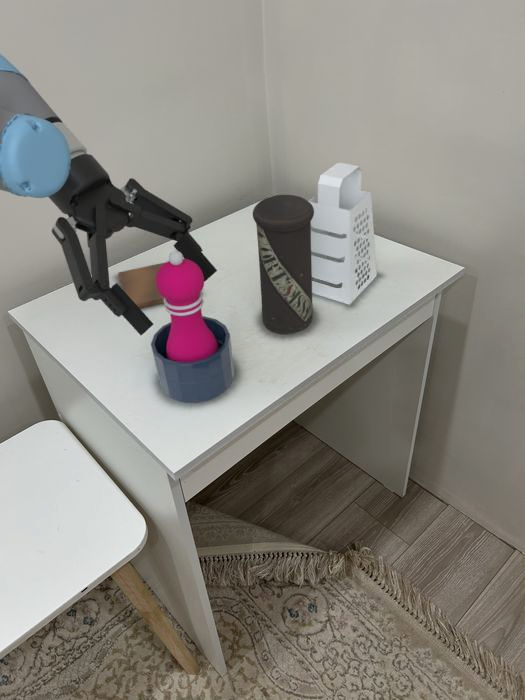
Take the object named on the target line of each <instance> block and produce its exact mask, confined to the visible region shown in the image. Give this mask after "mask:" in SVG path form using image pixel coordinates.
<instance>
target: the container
mask: <svg viewBox="0 0 525 700" xmlns="http://www.w3.org/2000/svg"><path fill="white" fill-rule="evenodd" d="M308 201H309V200H307V199H306V198H303V197H302V196H298V195H294V194H276V195H271V196H268V197H265V198H263V199H261V200H260V201H259V202H258V203H257V204H255V206H254V208H253V209H252V219H253V221H254V222H255V225H256V234H257V235H256V236H257V238H256V239H257V248H258V249H257V252H258V266H259V280H260V281H259V282H260V297H261V299H260V300H261V318H262V323H263V325H264V327H265V328H266V329H267V330H268V331H270V332H272V333H274V334H278V335H292V334H296V333H299V332H301V331H303V330H305V329H306V328H308V327H309V326H310V325H311V323H312V321H313V317H314V316H313V315H314V308H313V307H314V305H313V293H312V281H313V277H312V265H311V220H312V218H313V216H314V209H313V206H312V204H311V203H310V202H308Z"/></svg>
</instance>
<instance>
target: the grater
mask: <svg viewBox="0 0 525 700" xmlns="http://www.w3.org/2000/svg"><path fill="white" fill-rule="evenodd" d="M362 174H363V171H362V168H361V166H360V165H356V164H355V165H353V164H349V163H344V162H337V163H335V164H333V166H331V167H329V168H328V169H327V170H325V171H324V172H323V173H321V174H320V176H319V179H318V182H317V194H316V195H314V196H313V197H311V198H310V199H309V200H307V201H308V202H310V203H311V204H312V206H313V209H314V216H313V218H312V220H311V265H312V279H317V280H321V281H323V282H326V283H331V284H333V285H340V284H341V287H333V286H330V285H327V284H324V283H320V282H317V281H314V280H312V295H313V294H314V295H316V296H320V297H323V298H326V299H329V300H333V301H336V302H339V303H342V304H346V305H351V304H352V303H353V302H354V301H355V300H356V298H358V296H360V295H361V293H362V292H364V290H366V288H367V287H368V286H369V285H370V284H371V283H372V281H373V280H374V279H375V278H376V277H377V275H378V273H377V259H376V258H377V257H376V256H377V255H376V243H375V231H374V229H375V228H374V214H373V213H374V212H373V202H372V201H373V200H372V199H373V198H372V192H369V191H364V190H361V189H362ZM358 274H359V276H358Z"/></svg>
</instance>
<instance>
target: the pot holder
mask: <svg viewBox="0 0 525 700" xmlns="http://www.w3.org/2000/svg"><path fill="white" fill-rule="evenodd" d="M166 262H167V261H165V262H161V263H155V264H151V265H146V266H142V267H138V268H137V267H136V268H133V269H127V270H124V271H119V272H117V275H118V278H119V282H120V285H121V286H120V287H121V288H122V289H123V290H124V292H125V293H126V294H127V295H128V296H129V297H130V298H131V299H132V300H133V302H134V303H135V304H136V305H137V306H138V307H139V308H140V309H142V308H146V307H152V306H157V305H160V304H164V297H163V296H161V295H160V293H159V292H158V289H157V286H156V275H157V272H158V270H159V269H160V267H161V266H162V265H163V264H165V263H166Z"/></svg>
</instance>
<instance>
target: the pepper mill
mask: <svg viewBox="0 0 525 700" xmlns="http://www.w3.org/2000/svg"><path fill="white" fill-rule="evenodd" d="M165 262H166V263H165ZM165 262H164V263H165V264H163V265H162V266H161V267H160V269H159V270H158V272H157V275H156V286H157V289H158V292H159V293H160V295H161V296H163V297H164V303H163V304H164V309H165V311H166V312H167V313H168V314H169V315H170V322H171V330H170V334H169V337H168V341H167V347H166V352H167V359H168V360H172V361H175V362H194V361H198V360H201V359H205V358H208V357H209V356H211V355H213V354H214V353H216V352H218V351H219V348H218V344H217V340H216V338H215V337H214V335H213V333H212V332H211V331H210V330H209V328H208V327H207V326H206V324H205V322H204V320H203V317H202V316H203V313H202V308H203V306H204V302H205V301H204V298H203V292H202V291H203V289H204V286H205V282H204V276H203V273H202V271H201V269H200V267H199V266H198V265H197V264H196V263H194V262H193V261H190V260H188V259H184V258H183V255H182V253H181V252H179V251H177V250H172V251H171V252H170V253H169V254H168V261H165Z"/></svg>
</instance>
